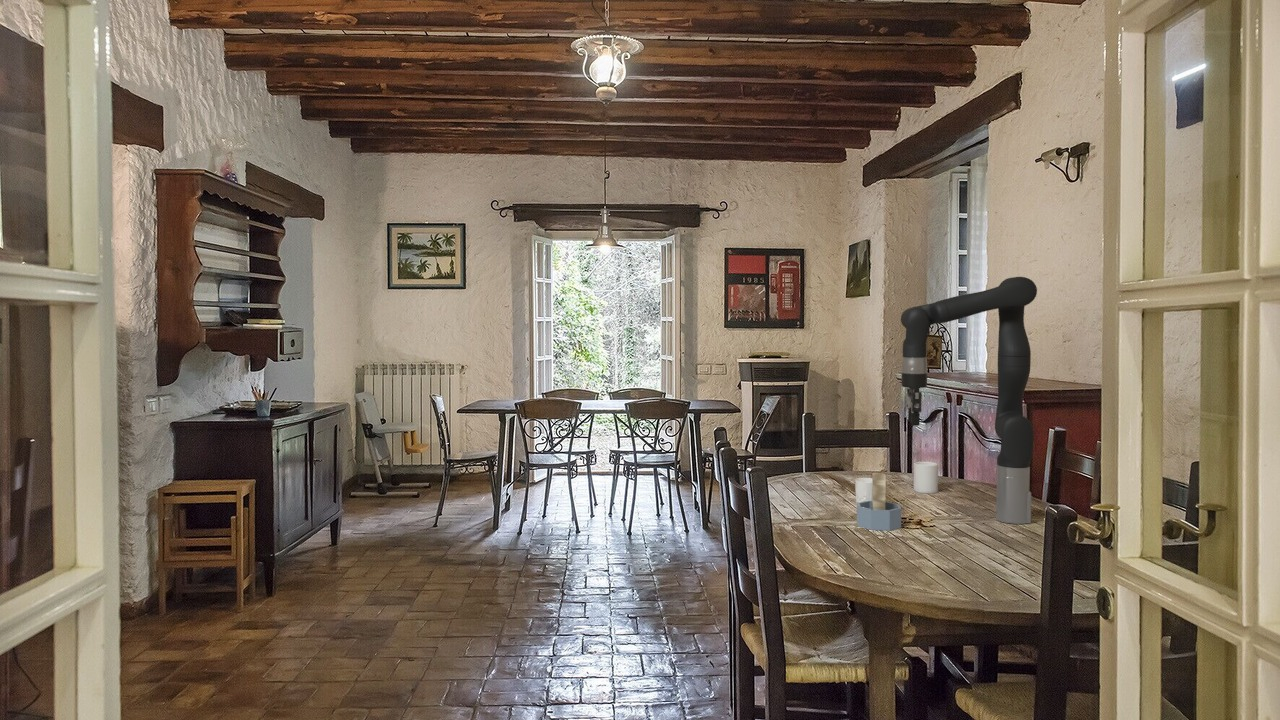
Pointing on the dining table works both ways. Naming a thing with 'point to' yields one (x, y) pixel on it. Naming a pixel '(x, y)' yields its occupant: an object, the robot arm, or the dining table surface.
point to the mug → (925, 477)
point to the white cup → (863, 489)
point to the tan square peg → (878, 491)
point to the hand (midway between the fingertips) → (913, 423)
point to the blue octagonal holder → (879, 516)
